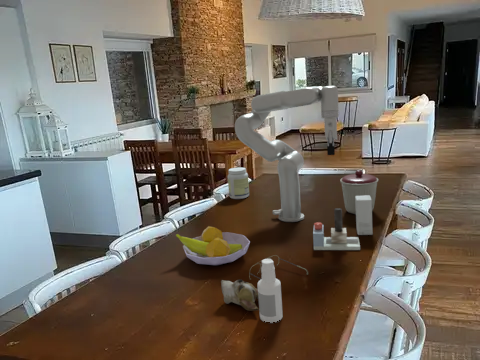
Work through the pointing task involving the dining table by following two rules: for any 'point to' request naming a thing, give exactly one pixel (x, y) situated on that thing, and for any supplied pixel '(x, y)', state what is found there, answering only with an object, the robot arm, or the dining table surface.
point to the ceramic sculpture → (240, 294)
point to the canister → (358, 188)
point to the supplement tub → (238, 183)
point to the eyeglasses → (277, 264)
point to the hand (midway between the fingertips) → (331, 154)
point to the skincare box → (364, 215)
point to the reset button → (318, 226)
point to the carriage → (338, 228)
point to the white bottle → (269, 293)
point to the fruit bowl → (215, 247)
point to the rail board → (326, 244)
